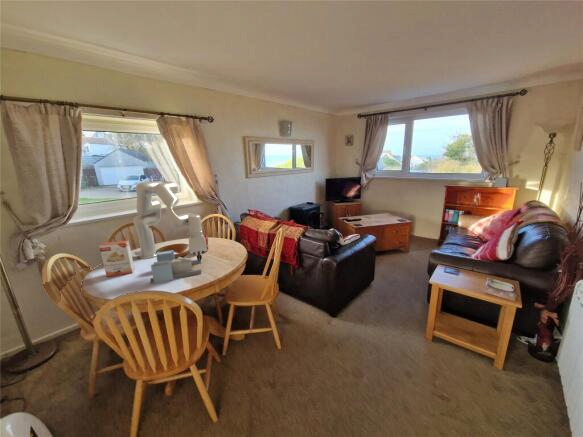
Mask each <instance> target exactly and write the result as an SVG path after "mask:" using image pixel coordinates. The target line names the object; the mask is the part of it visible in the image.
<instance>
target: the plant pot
mask: <svg viewBox="0 0 583 437" xmlns="http://www.w3.org/2000/svg"><path fill="white" fill-rule="evenodd" d="M203 235H204V237H205V241H206V248H207V251H208V250H209V237H208V235H207V234H203ZM207 251H205V252H207ZM205 252H203V253H202V254H204V253H205ZM199 253H200V251H199V252H198V254H199Z"/></svg>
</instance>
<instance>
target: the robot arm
mask: <svg viewBox="0 0 583 437" xmlns="http://www.w3.org/2000/svg"><path fill="white" fill-rule="evenodd" d="M178 192H179V187H178V185H177V183H175V182H173V181H168V180H154V181H143V182H142V181H141V182H138V183H137V184H136V186H135V193H136V212H137V214H138V215H136V216H135V217H134V218H133V220H132V223H133V225H134V227H135V228H134V229H135V230H136V234H137V238H138V243H139V247H140V248H139V249H140V250H139V251H134V255H136V256H138V255H139V258H140V259H143V260H145V259H153V258H155V257H157V256H156V255H155V252H156V251H157V249H156V244H155V239H154V238H155V237H154V233H153V231H152V229H151V228H149V227H151V226H155V225H158V224H159V223H160V222H161V216H162V205H161V202H160V201H159V200H157V199H155V198H152V195H155V194H156V195H157V196H158V198H159V199H160V200H161V201H162V203H163V204H164V205H165V216H166V217H167V220H168V221H169V222H170V223H171V225H172V226H173V227H175V228H183V227H185V226H188V230H189V232H187V233H186V235H187V236H189V237H188V247H189V248H188V249H189V254H194V255H195V256H196V260H198V261H201V262H202V259H203V254H204V253H205V251H206V252H207V251H208V250H207V248H206V241H205V237H204V235H205V234H203V227H202V219H201V218H202V217H201V215H200V214H195V213H192V212H186V213H182V214H178V215H177V214H176V213H175V212H174V210H173V208H174V207H176V206H177V205H178V204H179V198H178V197H177V196H176V194H177V193H178ZM199 251H200V253H199V254H198V252H199ZM203 252H204V253H203Z"/></svg>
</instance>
